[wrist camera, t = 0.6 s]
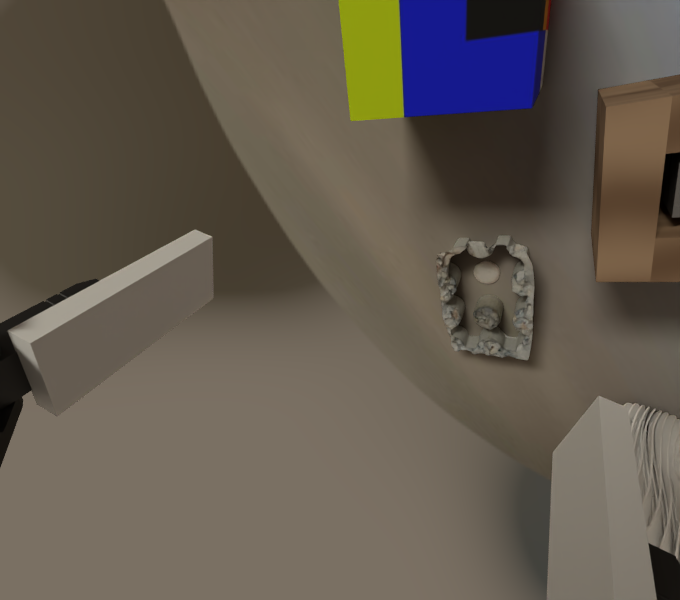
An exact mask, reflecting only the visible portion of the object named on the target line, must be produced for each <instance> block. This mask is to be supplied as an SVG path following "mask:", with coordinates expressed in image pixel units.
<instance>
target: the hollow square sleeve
mask: <svg viewBox="0 0 680 600" xmlns="http://www.w3.org/2000/svg"><path fill="white" fill-rule="evenodd" d="M677 152H680V75H675V76H670V77H664V78H659V79H653V80H648V81H642V82H637V83H631V84H626V85H620V86H615V87H609V88H604V89H598V103H597V124H596V145H595V165H594V186H593V206H592V227H591V237H592V246H593V256H594V266H595V276H596V282H680V217H675V218H672V217H671V215H670V213H669V211H668V209H667V208H666V206H665V204H664V202H663V200H662V198H661V188H662V179H663V171H664V163H665V154H668V153H677Z"/></svg>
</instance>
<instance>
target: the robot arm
mask: <svg viewBox="0 0 680 600" xmlns="http://www.w3.org/2000/svg"><path fill="white" fill-rule="evenodd" d="M212 244H213V243H212V236H209V235H207V234H204V233H202V232H200V231H197V230H193V231H191V232H190V233H188V234H186V235H184V236H182V237H180V238H178V239H177V240H175V241H173V242H171V243H169V244H167V245H165V246H164V247H162V248H160V249H158V250H156V251H154V252H153V253H151V254H149V255H147V256H145V257H143V258H141V259H139V260H138V261H136V262H134V263H132V264H131V265H128V266H126V267H125V268H123V269H121V270H119V271H117V272H115V273H114V274H112V275H110V276H108V277H106V278H104V279H102V280H100V281H99V280H97V279H93V280H89V281H86V282H82V283H78V284H75V285H73V286H71V287H69V288H67V289H66V290H64V291H62V292H60V294H59V295H57V294H56V295H54V296H52V297H51V298H48V299H47V300H46V302H44V301H43V302H41V303H39V304H37V305H35V306H33V307H31V308H29V309H27V310H25V311H23V312H21V313H19V314H17V315H15V316H14V317H12V318H10V319H8V320H6V321H4V322H2V323H0V467H1V464H2V461H3V459H4V456H5V453H6V451H7V448H8V445H9V442H10V440H11V437H12V434H13V431H14V429H15V426H16V423H17V420H18V417H19V415H20V412H21V410H22V406H23V399H22V396H23V395H25V394H26V393H28V392H29V391H32V393H33V396H34V398H35V401H36V403H37V405H39V406H41V407H42V408H44V409H46V410H47V411H49V412H50V413H52V414H54V415H55V416H58V415H60V414H61V413H62V412H64V411H65V410H66V409H68V408H69V407H70V406H72V405H73V404H74V403H75V402H77V401H78V400H80V399H81V398H82V397H84V396H85V395H86V394H88V393H89V392H90V391H91V390H93V389H94V388H95V387H97V386H98V385H99V384H101V383H102V382H103V381H105V380H106V379H107V378H109V377H110V376H111V375H113V374H114V373H115V372H117V371H118V370H119V369H120V368H122V367H123V366H124V365H126V364H127V363H128V362H130V361H131V360H132V359H134V358H135V357H136V356H138V355H139V354H140V353H142V352H143V351H144V350H145V349H147V348H148V347H150V346H151V345H152V344H153V343H155V342H156V341H157V340H159V339H160V338H161V337H163V336H164V335H165V334H167V333H168V332H169V331H171V330H172V329H173V328H174V327H176V326H177V325H179V324H180V323H181V322H182V321H184V320H185V319H186V318H188V317H189V316H190V315H191V314H193V313H194V312H196V311H197V310H198V309H200V308H201V307H202V306H203V305H205V304H206V303H208V302H209V301H210V300H212V299H213V246H212ZM548 557H549V558H548V582H547V600H680V563H679V562H678V560H677V558H676V556H675V555H673V554H671V553H668V552H666V551H664V550H662V549H660V548H658V547H656V546H654V545H652V544H650V543H648V538H647V531H646V525H645V518H644V512H643V505H642V498H641V492H640V485H639V479H638V472H637V465H636V459H635V452H634V446H633V439H632V432H631V426H630V419H629V413H628V408H627V407H625V406H623V405H620V404H618V403H615V402H613V401H610V400H608V399H606V398H603V397H601V396H598V397H597V398H596V400H595V401H594V402H593V403H592V404H591V406H590V407H589V408H588V409H587V411H586V412H585V413H584V414H583V416H582V417H581V418H580V419H579V421H578V422H577V423H576V424H575V425H574V427H573V428H572V429H571V430H570V432H569V433H568V434H567V435H566V437H565V438H564V439H563V440H562V442H561V443H560V444H559V445H558V446H557V448H556V449H555V450H554V451H553V459H552V483H551V507H550V533H549V556H548Z"/></svg>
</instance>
